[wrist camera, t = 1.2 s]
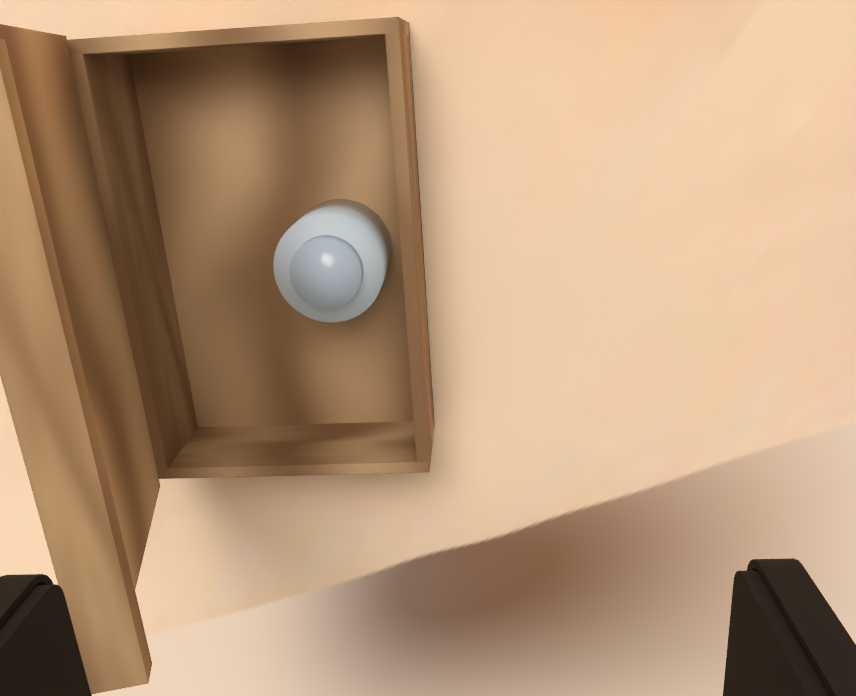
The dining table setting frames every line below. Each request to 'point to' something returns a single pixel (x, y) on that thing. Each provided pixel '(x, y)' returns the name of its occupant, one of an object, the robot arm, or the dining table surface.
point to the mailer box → (261, 242)
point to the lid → (71, 360)
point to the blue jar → (333, 260)
